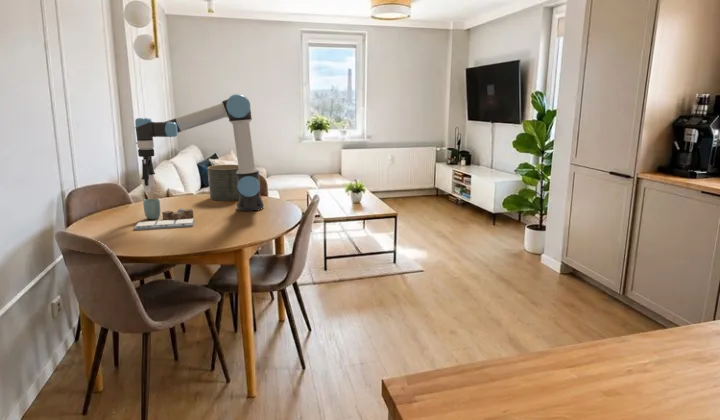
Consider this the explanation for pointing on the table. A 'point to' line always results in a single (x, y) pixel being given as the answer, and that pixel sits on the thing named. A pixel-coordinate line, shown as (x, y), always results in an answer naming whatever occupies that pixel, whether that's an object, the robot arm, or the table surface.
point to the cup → (152, 208)
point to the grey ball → (181, 210)
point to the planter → (223, 182)
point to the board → (164, 224)
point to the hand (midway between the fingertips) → (149, 189)
